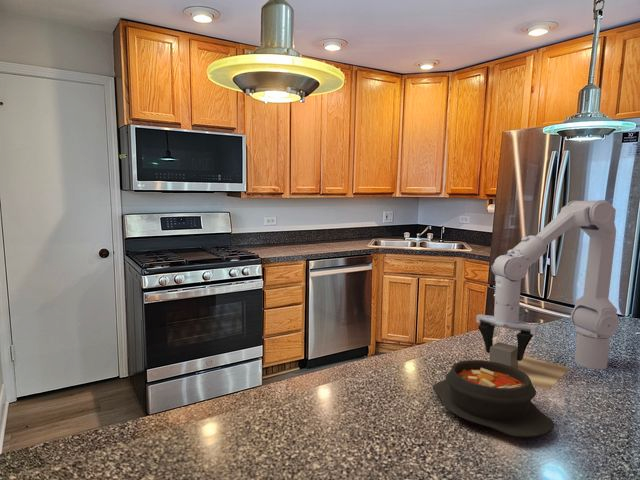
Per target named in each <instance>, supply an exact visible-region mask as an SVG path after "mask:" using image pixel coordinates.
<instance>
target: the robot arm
mask: <svg viewBox="0 0 640 480" xmlns="http://www.w3.org/2000/svg"><path fill="white" fill-rule="evenodd" d="M616 213H617V209H616V208H615V207H614V206H613V205H612V204H611V203H610V202H609V201H607V200H605V199H598V200H577V199H575V200H570V201H569V202H567V204H566V205H564V206H562V207H561V208H560V212H559V213H558V215H556V216H555V217H554V218H553V219H552V220H551V221H550V222H549V223H548V224H547V225H545V227H544V228H542V230H541V231H540V232H538V233H537V234H536V235H531V234H530V235H528V236H523V237H522V238H521V239H520V240H521V241H520V242H519V243H518V244H516V245H515V246H514V247H513V248H511V249H509V250H507V253H506V254H503V255H499V256H498V257H496V258H495V259H494V262H493V264H492V265H491V267H490V268H491V272H492V274H494V281H495V288H494V290H495V292H494V309H493V315H487V314H481V313H479V314H477V315H476V318H475V319H476V320H475V321H476V323H477V324H479V325H478V331H479V332H480V334H481V336H482V340H483V343H484V345H485V346H484V347H485V350H486V353H488V354H490V347H491V346H492V345H494V344H493V343H494V334H495V333H494V332H495V327H501V328H505V329H509V330H514V331H518V333H516V340H517V347H518V351H517V361H521V360H522V359H523V356H525V353H526V349H527V347H528V345H529V343H530V342H531V340H532V338H533V336H536V335H537V334H538V333H539V325H535V324H532V323H529V322H525V321H522V320H520V317H519V316H520V306H521V305H520V304H521V302H520V301H521V284H522V283H521V282H522V279H524V278H525V277H526V275H527V274H528V271H529V270H528V269H529V268H530V266H531V265H533V264H534V263H535V262H537V261H538V260H539V259H540V258H541V257H542V256H544V255H545V254H546V253H547V251H548V250H547V246H548V245H550V244H551V243H553V241H554V240H556V239H557V238H559V237H560V236H562V235H563V234H565V233H566V232H567V231H568V230H570V229H571V228H578V229H581V230H582V231H583V232H584V233H585V234H586V235H587V236H588V237H589V242H588V251H587V260H586V269H585V278H584V285H583V286H584V287H583V295H582V296H581V297H579V298H578V299H576V300H575V303H574V307H573V310H572V311H571V313H570V320H571V323H572V325H573V326H575V327H574V330H575V331H576V336H575V337H576V339H575V351H574V353H575V354H574V363H575V364H577V365H578V366H580V367H583V368H587V369H592V370H606V369H608V363H609V359H610V356H609V355H610V339H612V338H613V336H614V335H616V333H617V331H618V329H619V319H618V316H617V315H618V314H617V311H618V309H617V307H616V306H615V305H614V304H613V303H612V302H611V300H610V299H609V297H610V287H611V279H612V273H613V272H612V271H613V270H612V269H613V262H614V255H615V254H614V253H615V245H616V237H617V229H616V224H615V221H616Z"/></svg>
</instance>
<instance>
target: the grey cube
mask: <svg viewBox="0 0 640 480" xmlns="http://www.w3.org/2000/svg"><path fill="white" fill-rule="evenodd" d="M517 351H518V346H516V345H512V344H509V343H503V342H500V341H497V342H496V343H494V344H493V345H492V346H491V347H490V353H489V357H488V360H489V361H491V362H497V363H501V364H505V365H508V366H511V367H514V368H516V369H518V361H517Z"/></svg>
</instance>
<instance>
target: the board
mask: <svg viewBox="0 0 640 480" xmlns="http://www.w3.org/2000/svg"><path fill="white" fill-rule="evenodd" d="M487 361H489V359H488V360H487ZM570 369H571V367H569V366H564V365H560V364H557V363H552V362H549V361H544V360H541V359H536V358H533V357H529V356H526V355H524V356H523V359H522V360H521V361H518V370H520V371H522V372H524V373H525V374H526V375H528V376H529V378H530V380H531V383H532V385H533V386H534V387H539V388H542V389H546V390H550V389H552V387H553V386H554V385H555V384H556V383H558V381H559V380H560V379H561V378H562V377H563V376H564V375H565V374H566V373H567V372H568V371H569V370H570Z"/></svg>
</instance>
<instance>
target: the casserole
mask: <svg viewBox="0 0 640 480" xmlns="http://www.w3.org/2000/svg"><path fill="white" fill-rule="evenodd" d="M432 390H433V391H434V392H435V393H436V394H437V396H438V397H439V398H440V400H441V402H442V405H443V406H444V407H445V408H446V409H447V410H448V411H450V412H451V413H453V414H454V415H456V416H457V417H459V418H461V419H464V420H466V421H468V422H471V423H473V424H477V425H479V426H483V427H487V428H491V429H493V430H496V431H498V432H500V433H502V434H504V435H505V434H506V435H508V436H511V437H515V438H535V437H541V436H544V435H546V434H549V433H551V432H552V431H553V430H554V429H555V423H554V421H553V419H552V418H550V417H549V416H547V415H546V414H545V413H543V412H541V411H540V409H538V407H537V406H536V405H535V404H534V403H533V402H532V400H533V399H534V398H535V397H536V395H537V390H536V387H535V385H532V383H531V380H530V378H529V376H528V375H526V374H525V373H524V372H522V371H520V370H518V369H516V368H514V367H511V366H508V365H505V364H501V363H497V362H491V361H488V360H482V359H481V360H480V359H478V360H477V359H474V360H473V359H470V360H462V361H458V362H456V363H454V364H453V365H452V366H451V367H450V371H448V372H447V373H446V375H445V379H443V380H441V381H438V382H436V383H434V384H433V386H432Z"/></svg>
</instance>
